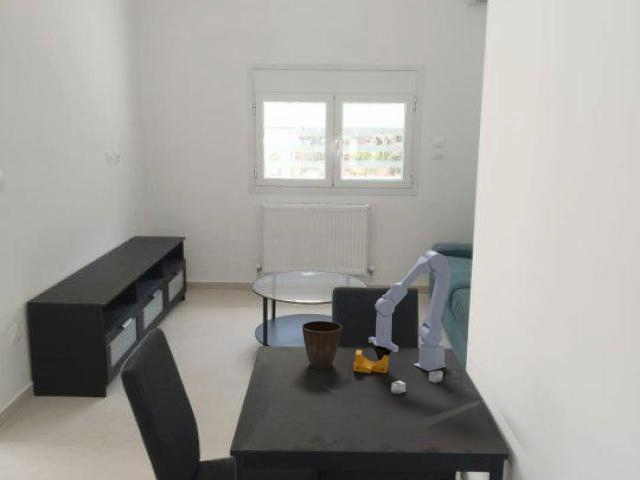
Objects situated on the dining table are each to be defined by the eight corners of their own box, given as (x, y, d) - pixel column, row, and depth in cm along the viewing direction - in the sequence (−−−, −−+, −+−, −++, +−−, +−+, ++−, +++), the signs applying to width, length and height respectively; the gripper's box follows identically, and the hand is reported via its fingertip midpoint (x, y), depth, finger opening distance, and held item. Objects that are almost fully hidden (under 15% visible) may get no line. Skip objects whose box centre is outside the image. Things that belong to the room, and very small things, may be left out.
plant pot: (304, 359, 235) (305, 319, 232) (342, 361, 233) (343, 321, 230) (298, 372, 220) (298, 330, 218) (338, 375, 218) (339, 332, 216)
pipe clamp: (353, 370, 221) (354, 356, 218) (355, 362, 225) (357, 349, 222) (385, 377, 219) (387, 363, 215) (387, 369, 222) (388, 355, 219)
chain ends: (437, 377, 217) (438, 369, 217) (443, 380, 215) (444, 372, 214) (389, 391, 203) (389, 383, 203) (395, 394, 201) (395, 386, 200)
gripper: (362, 327, 225) (361, 362, 227) (388, 337, 213) (387, 373, 215) (377, 324, 229) (375, 358, 231) (403, 334, 217) (401, 369, 219)
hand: (382, 365), depth 223 cm, fingers closed
